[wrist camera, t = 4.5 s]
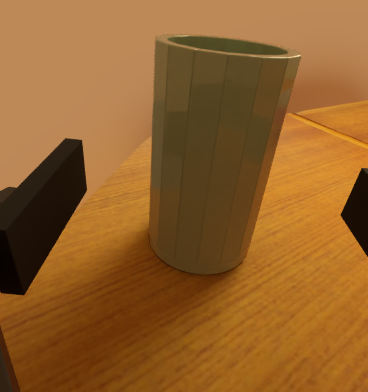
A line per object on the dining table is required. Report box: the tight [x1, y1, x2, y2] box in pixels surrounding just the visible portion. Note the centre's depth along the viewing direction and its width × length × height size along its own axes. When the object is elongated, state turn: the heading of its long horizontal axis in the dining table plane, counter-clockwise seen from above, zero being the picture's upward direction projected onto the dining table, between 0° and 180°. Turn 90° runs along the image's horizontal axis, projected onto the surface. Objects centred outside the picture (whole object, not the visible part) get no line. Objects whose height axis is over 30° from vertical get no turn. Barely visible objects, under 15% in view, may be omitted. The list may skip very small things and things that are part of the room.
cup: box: [149, 34, 301, 275], centre depth 18 cm, size 7×7×12 cm
